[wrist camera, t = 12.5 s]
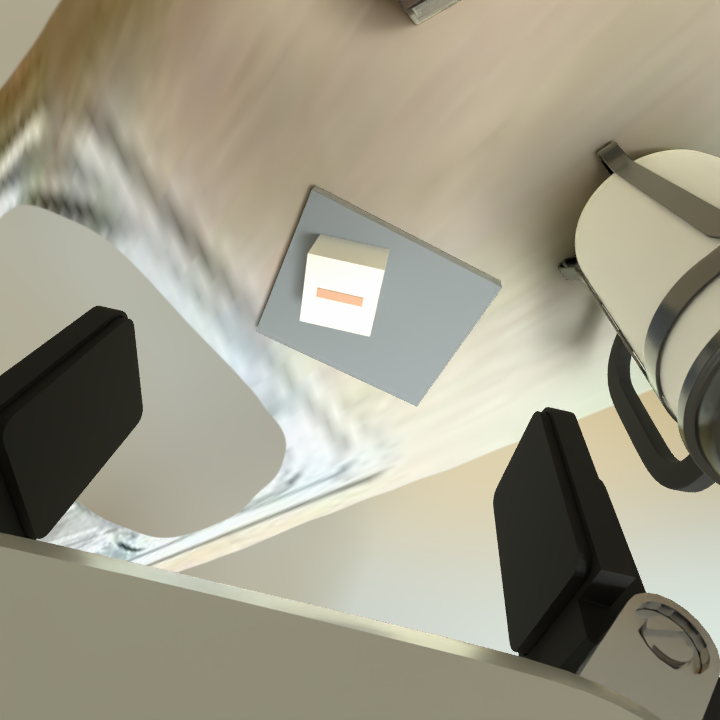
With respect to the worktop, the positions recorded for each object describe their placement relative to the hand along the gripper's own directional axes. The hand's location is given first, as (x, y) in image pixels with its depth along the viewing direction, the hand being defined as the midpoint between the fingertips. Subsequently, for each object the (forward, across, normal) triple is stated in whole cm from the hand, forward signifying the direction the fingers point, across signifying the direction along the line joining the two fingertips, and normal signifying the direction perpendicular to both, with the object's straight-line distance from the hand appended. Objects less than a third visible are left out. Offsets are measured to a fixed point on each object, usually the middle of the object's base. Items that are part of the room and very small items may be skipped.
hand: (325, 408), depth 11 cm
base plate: (+34, 0, +14) cm, 37 cm away
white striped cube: (+33, +3, +11) cm, 35 cm away
